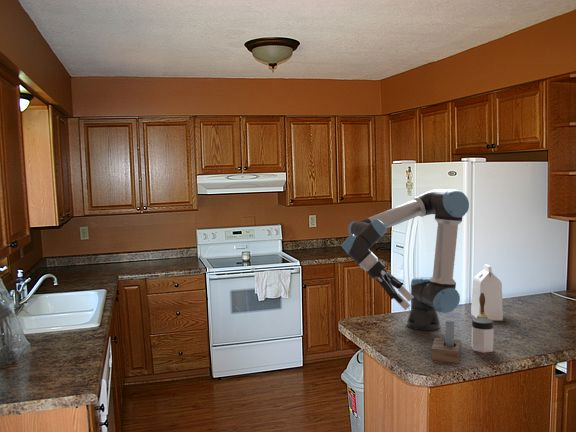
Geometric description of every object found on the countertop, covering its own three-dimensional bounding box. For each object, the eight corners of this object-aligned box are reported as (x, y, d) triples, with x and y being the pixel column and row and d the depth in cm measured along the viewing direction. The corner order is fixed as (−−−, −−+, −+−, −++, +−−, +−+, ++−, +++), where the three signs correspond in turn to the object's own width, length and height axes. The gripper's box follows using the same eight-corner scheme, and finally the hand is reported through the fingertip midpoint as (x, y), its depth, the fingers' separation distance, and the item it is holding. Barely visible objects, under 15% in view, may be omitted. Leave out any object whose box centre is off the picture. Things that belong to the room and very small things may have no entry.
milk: (502, 320, 254) (504, 267, 252) (479, 320, 254) (480, 267, 252) (493, 313, 266) (494, 263, 264) (470, 313, 266) (471, 263, 264)
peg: (445, 354, 208) (445, 319, 207) (453, 354, 207) (454, 320, 206) (445, 356, 205) (445, 321, 204) (453, 357, 204) (453, 322, 203)
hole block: (434, 348, 215) (434, 337, 215) (460, 350, 211) (460, 340, 211) (431, 359, 202) (431, 348, 201) (458, 362, 198) (458, 351, 198)
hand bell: (471, 328, 242) (472, 294, 241) (474, 323, 250) (474, 290, 248) (490, 330, 238) (491, 295, 237) (492, 325, 246) (493, 292, 244)
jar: (497, 349, 213) (497, 320, 212) (489, 354, 207) (489, 324, 206) (475, 344, 219) (476, 316, 218) (467, 349, 213) (467, 320, 212)
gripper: (371, 266, 230) (406, 301, 226) (360, 278, 206) (399, 317, 203) (383, 254, 227) (419, 290, 224) (373, 265, 204) (413, 305, 200)
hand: (409, 303), depth 213 cm, fingers open, 13 cm apart
